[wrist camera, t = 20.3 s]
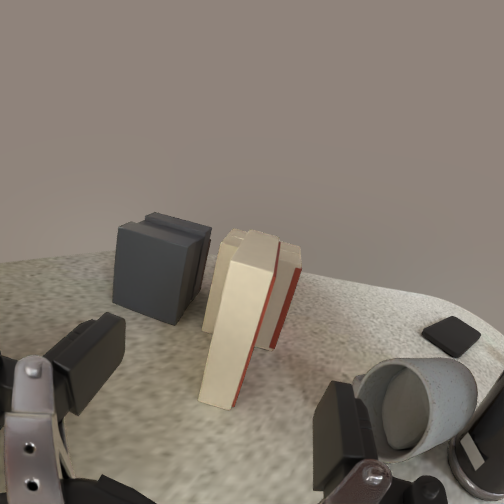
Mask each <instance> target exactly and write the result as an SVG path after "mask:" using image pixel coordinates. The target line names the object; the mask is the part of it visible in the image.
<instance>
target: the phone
mask: <svg viewBox="0 0 504 504" xmlns="http://www.w3.org/2000/svg"><path fill="white" fill-rule="evenodd" d="M422 335H423V336H424V337H425V338H427V339H428V340H430V341H431V342H433V343H434V344H435V345H437V346H438V347H440V348H441V349H443V350H444V351H445V352H447V353H448V354H450V355H451V356H453V357H456V358H458V357H460V356H461V355H462V354H463V353H464V352H466V351H467V350H468V349H469V348H470V347H471V346H472V345H473V344H474V343H475V342H476V341H477V340H478V339H479V338H480V336H481V334H480V332H478V331H477V330H475V329H474V328H472V327H471V326H469V325H468V324H466V323H464V322H463V321H461V320H460V319H458V318H456V317H454V316H450V317H448V318H446V319H444V320H442V321H440V322H438V323H435V324H433V325H431V326H429V327H427V328H424V330H423V332H422Z"/></svg>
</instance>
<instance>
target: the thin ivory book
mask: <svg viewBox="0 0 504 504" xmlns="http://www.w3.org/2000/svg"><path fill="white" fill-rule="evenodd" d="M280 246H281V242H279V237H276V236H273V235H269V234H266V233H262V232H258V231H255V230H251V229H250V230H249V232H248V233H247V235H246V236H245V238H244V240H243V241H242V243H241V244H240V246H239V248H238V249H237V251H236V252H235V254H234V255H233V257H232V259H231V260H230V263H229V267H228V271H227V275H226V280H225V284H224V288H223V292H222V296H221V301H220V305H219V309H218V313H217V318H216V322H215V326H214V331H213V335H212V339H211V344H210V348H209V353H208V357H207V361H206V366H205V370H204V375H203V379H202V384H201V388H200V393H199V397H198V401H199V402H203V403H206V404H209V405H212V406H216V407H219V408H222V409H226V410H231V407H234V406H235V403H236V400H237V398H238V395H239V392H240V389H241V386H242V383H243V380H244V377H245V374H246V371H247V368H248V365H249V362H250V359H251V355H252V352H253V349H254V346H255V343H256V340H257V337H258V334H259V331H260V328H261V324H262V321H263V318H264V315H265V312H266V309H267V305H268V302H269V299H270V296H271V292H272V289H273V286H274V283H275V279H276V274H277V267H278V260H279V253H280Z"/></svg>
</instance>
